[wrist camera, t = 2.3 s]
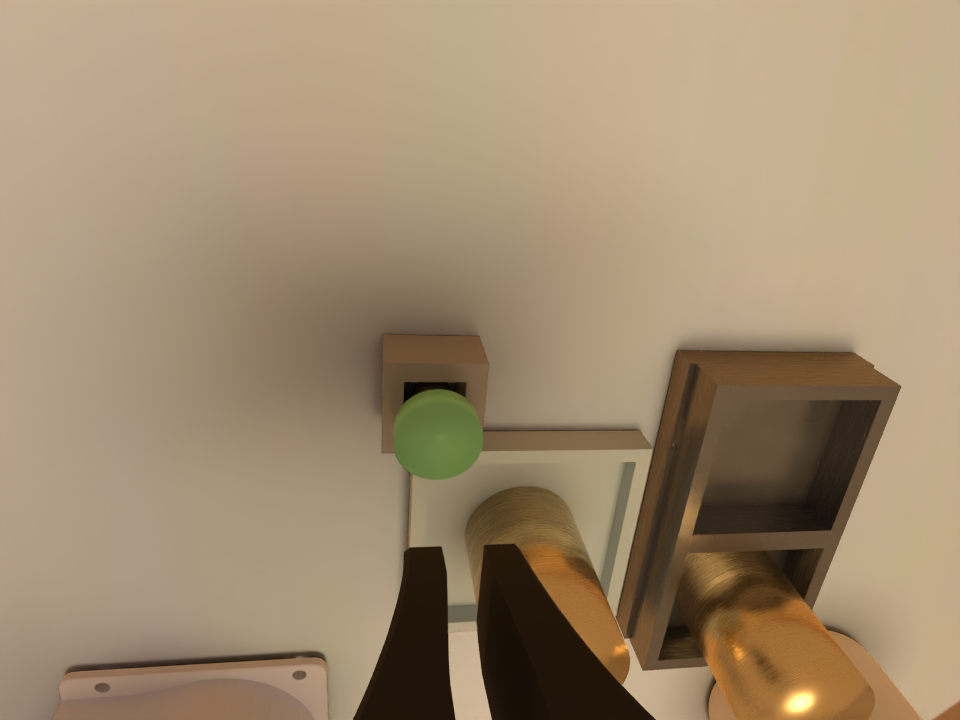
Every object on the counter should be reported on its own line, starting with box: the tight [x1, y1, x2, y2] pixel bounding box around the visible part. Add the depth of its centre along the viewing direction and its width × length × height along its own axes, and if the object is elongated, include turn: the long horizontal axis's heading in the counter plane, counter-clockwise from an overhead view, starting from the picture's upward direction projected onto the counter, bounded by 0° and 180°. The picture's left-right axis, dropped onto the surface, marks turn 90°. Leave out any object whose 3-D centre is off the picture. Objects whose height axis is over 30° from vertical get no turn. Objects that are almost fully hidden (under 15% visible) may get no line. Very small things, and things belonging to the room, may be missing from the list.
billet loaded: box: [674, 551, 875, 720], centre depth 22 cm, size 4×4×6 cm
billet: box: [465, 486, 630, 685], centre depth 21 cm, size 4×4×6 cm
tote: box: [408, 430, 653, 633], centre depth 23 cm, size 8×8×1 cm
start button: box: [393, 382, 483, 480], centre depth 18 cm, size 2×2×3 cm
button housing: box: [382, 335, 489, 453], centre depth 20 cm, size 3×3×2 cm
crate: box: [616, 351, 901, 671], centre depth 23 cm, size 7×12×2 cm, turn 176°
